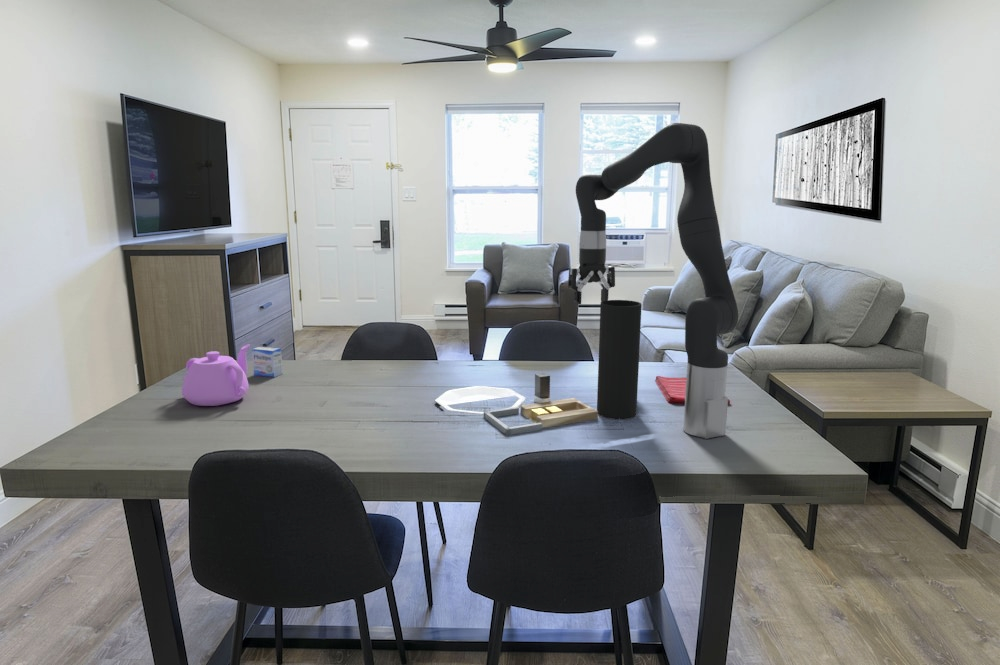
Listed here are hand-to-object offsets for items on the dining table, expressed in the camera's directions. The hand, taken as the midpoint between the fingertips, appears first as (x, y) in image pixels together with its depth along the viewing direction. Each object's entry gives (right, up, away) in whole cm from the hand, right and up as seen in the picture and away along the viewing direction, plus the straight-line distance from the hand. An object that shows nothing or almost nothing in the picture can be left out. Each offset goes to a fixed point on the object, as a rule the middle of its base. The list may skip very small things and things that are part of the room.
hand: (591, 303), depth 190 cm
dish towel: (+29, -27, +3) cm, 40 cm away
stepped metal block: (-15, -29, -10) cm, 34 cm away
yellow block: (-13, -30, -22) cm, 39 cm away
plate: (-32, -29, -7) cm, 43 cm away
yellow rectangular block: (-16, -30, -23) cm, 42 cm away
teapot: (-105, -27, -3) cm, 109 cm away
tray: (-23, -32, -26) cm, 47 cm away
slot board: (-11, -31, -21) cm, 39 cm away
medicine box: (-101, -22, +20) cm, 105 cm away
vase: (+4, -31, -18) cm, 36 cm away
